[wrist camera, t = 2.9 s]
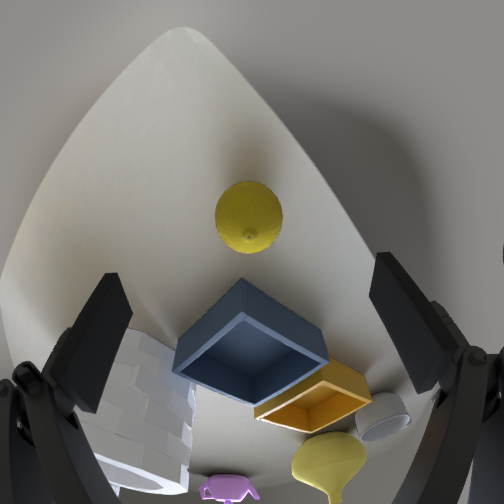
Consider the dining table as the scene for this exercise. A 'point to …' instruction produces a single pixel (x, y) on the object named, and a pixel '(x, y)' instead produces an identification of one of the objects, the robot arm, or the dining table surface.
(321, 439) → the vase
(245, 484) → the teapot
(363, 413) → the teacup
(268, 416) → the yellow bin
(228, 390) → the blue bin
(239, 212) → the lemon
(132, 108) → the dining table surface
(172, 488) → the white brick well
